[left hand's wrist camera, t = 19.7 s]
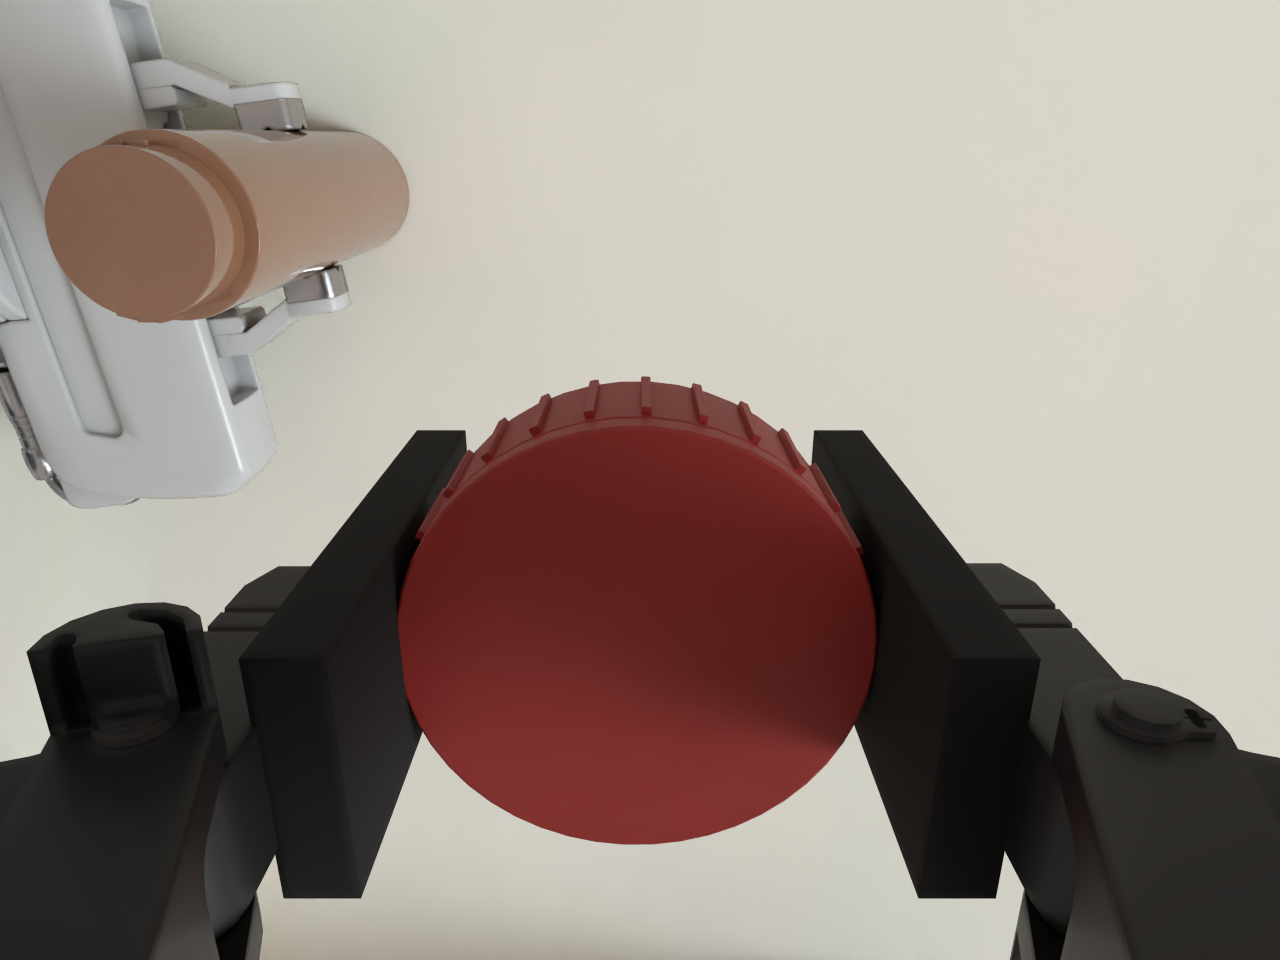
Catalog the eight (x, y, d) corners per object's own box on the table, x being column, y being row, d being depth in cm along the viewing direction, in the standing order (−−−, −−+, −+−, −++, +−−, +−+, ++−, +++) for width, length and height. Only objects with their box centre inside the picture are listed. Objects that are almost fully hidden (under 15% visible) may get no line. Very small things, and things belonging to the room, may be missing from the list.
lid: (844, 740, 13) (877, 837, 11) (459, 762, 13) (430, 862, 11) (849, 358, 11) (891, 401, 9) (393, 391, 11) (344, 440, 9)
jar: (278, 146, 36) (-10, 155, 20) (387, 118, 36) (182, 105, 20) (319, 260, 38) (83, 353, 22) (424, 235, 37) (262, 310, 21)
